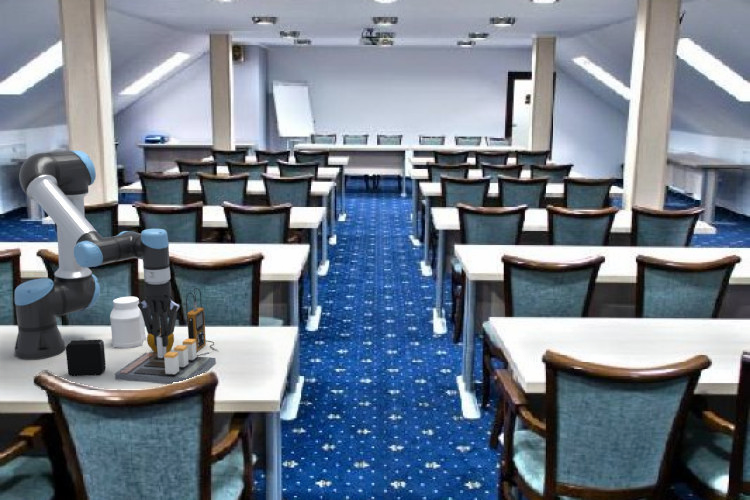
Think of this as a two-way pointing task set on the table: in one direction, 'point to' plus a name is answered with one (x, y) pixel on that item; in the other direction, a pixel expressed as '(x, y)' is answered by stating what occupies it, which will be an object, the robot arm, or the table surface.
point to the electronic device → (85, 357)
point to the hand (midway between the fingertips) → (162, 356)
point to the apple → (151, 344)
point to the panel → (162, 369)
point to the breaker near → (171, 363)
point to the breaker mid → (182, 355)
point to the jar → (127, 323)
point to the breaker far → (191, 348)
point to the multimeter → (197, 325)
